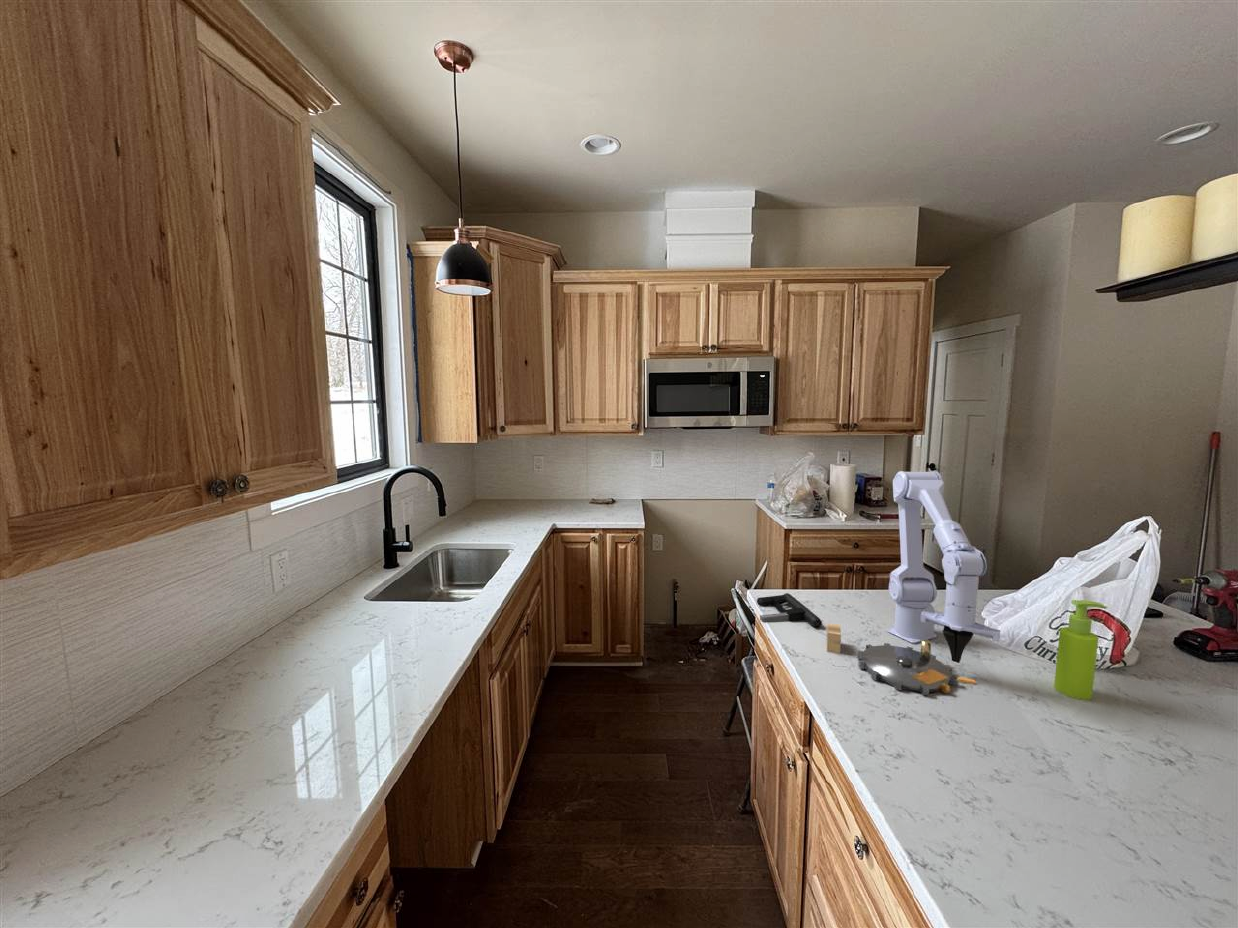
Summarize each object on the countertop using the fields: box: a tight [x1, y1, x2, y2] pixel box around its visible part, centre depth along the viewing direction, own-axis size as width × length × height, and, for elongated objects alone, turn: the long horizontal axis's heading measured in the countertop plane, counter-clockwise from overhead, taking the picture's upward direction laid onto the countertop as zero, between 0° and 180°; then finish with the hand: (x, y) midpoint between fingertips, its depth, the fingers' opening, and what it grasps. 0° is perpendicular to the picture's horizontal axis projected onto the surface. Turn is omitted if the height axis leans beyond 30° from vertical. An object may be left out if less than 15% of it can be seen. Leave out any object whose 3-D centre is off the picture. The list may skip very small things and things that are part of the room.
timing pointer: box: [957, 676, 976, 685], centre depth 107 cm, size 3×1×1 cm, turn 68°
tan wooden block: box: [826, 622, 842, 655], centre depth 123 cm, size 6×3×5 cm, turn 158°
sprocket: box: [856, 639, 958, 696], centre depth 111 cm, size 20×20×6 cm
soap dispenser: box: [1053, 599, 1108, 701], centre depth 102 cm, size 6×7×20 cm
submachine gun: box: [756, 592, 823, 629], centre depth 143 cm, size 3×20×16 cm
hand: (956, 660), depth 110 cm, fingers closed
